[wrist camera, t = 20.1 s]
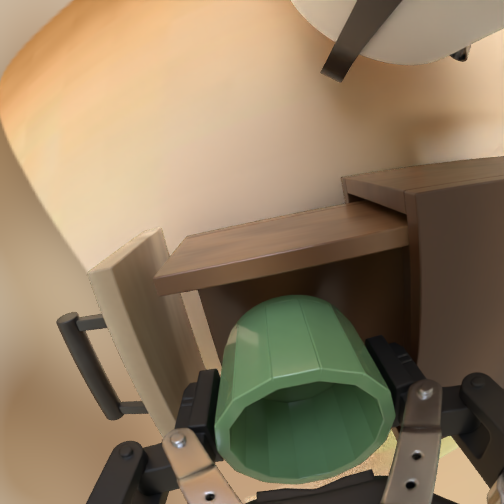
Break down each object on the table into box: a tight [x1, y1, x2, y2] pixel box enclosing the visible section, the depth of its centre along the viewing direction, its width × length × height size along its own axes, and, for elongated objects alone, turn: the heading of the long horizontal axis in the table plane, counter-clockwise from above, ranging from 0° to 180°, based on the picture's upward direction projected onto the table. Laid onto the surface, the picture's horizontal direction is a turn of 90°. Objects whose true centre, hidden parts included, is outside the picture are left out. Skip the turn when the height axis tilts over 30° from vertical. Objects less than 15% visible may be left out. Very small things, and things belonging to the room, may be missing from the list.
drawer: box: [57, 200, 411, 437], centre depth 16 cm, size 20×13×7 cm, turn 102°
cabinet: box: [341, 156, 504, 441], centre depth 15 cm, size 17×14×9 cm
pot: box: [214, 295, 396, 484], centre depth 12 cm, size 6×6×6 cm
